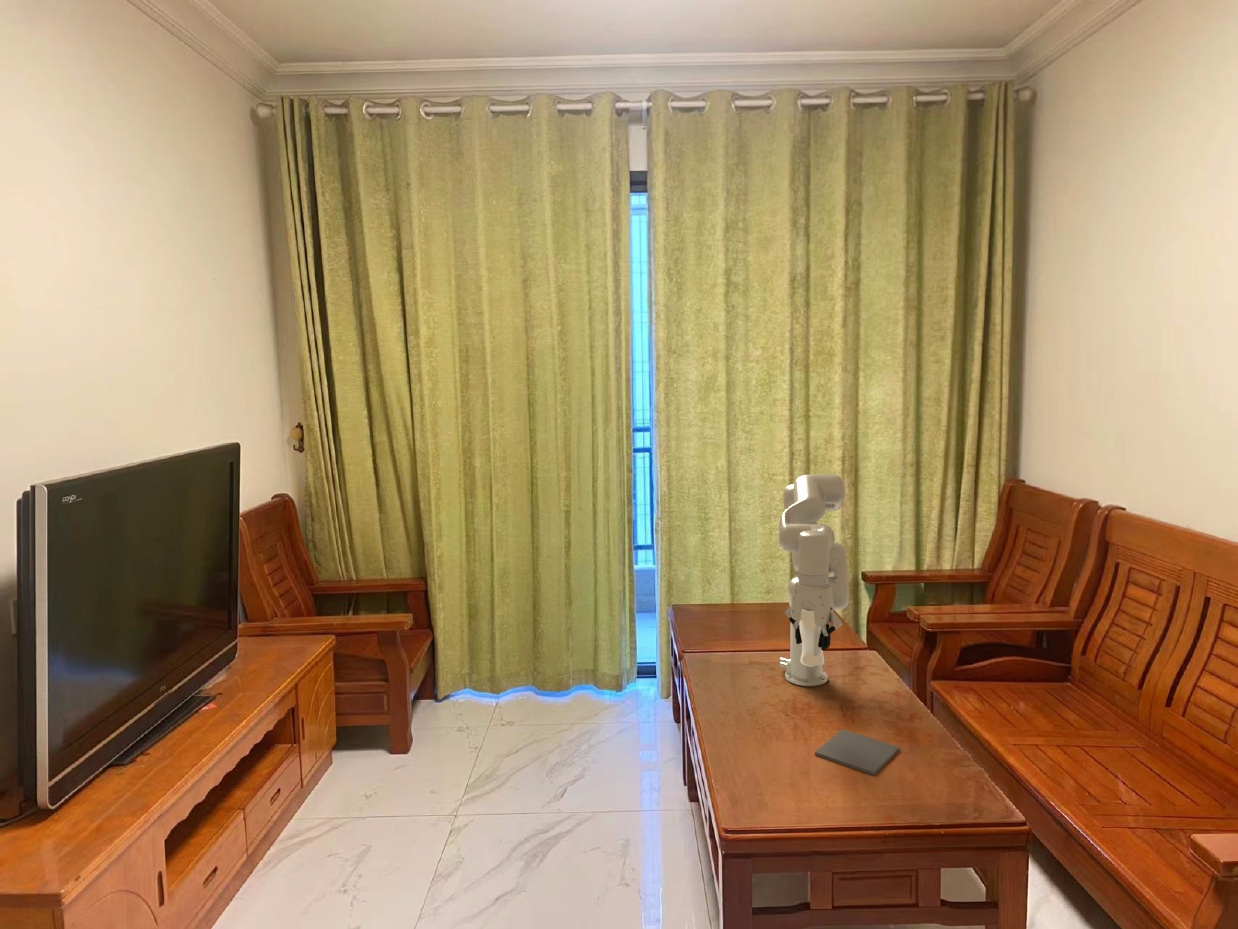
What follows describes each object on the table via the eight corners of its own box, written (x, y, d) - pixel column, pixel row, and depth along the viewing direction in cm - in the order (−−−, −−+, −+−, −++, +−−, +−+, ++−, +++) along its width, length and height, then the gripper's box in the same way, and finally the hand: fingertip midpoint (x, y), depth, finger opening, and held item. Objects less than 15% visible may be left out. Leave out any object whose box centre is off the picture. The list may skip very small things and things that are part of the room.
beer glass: (806, 669, 198) (807, 612, 196) (793, 659, 205) (794, 604, 203) (831, 665, 200) (832, 609, 198) (817, 655, 207) (818, 601, 204)
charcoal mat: (815, 754, 190) (815, 751, 190) (842, 732, 202) (842, 729, 201) (874, 775, 181) (874, 772, 180) (899, 750, 192) (899, 747, 192)
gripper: (775, 576, 202) (775, 642, 205) (838, 588, 191) (837, 658, 193) (790, 570, 208) (789, 634, 210) (851, 581, 196) (850, 649, 199)
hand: (812, 645), depth 202 cm, fingers closed on beer glass, 6 cm apart
